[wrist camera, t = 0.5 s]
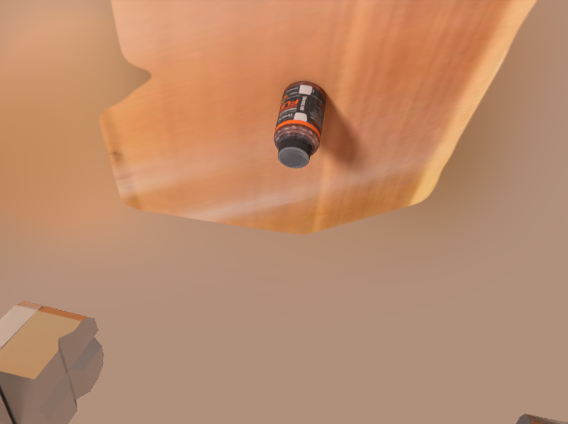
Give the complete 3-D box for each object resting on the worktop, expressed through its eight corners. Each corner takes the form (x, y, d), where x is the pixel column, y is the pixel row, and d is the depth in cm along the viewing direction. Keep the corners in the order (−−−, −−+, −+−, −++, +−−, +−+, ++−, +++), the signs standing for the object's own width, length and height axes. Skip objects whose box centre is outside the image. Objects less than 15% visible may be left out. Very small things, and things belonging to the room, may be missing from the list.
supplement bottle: (297, 71, 65) (285, 134, 58) (335, 93, 67) (327, 156, 60) (275, 99, 69) (261, 160, 63) (311, 118, 71) (301, 179, 65)
